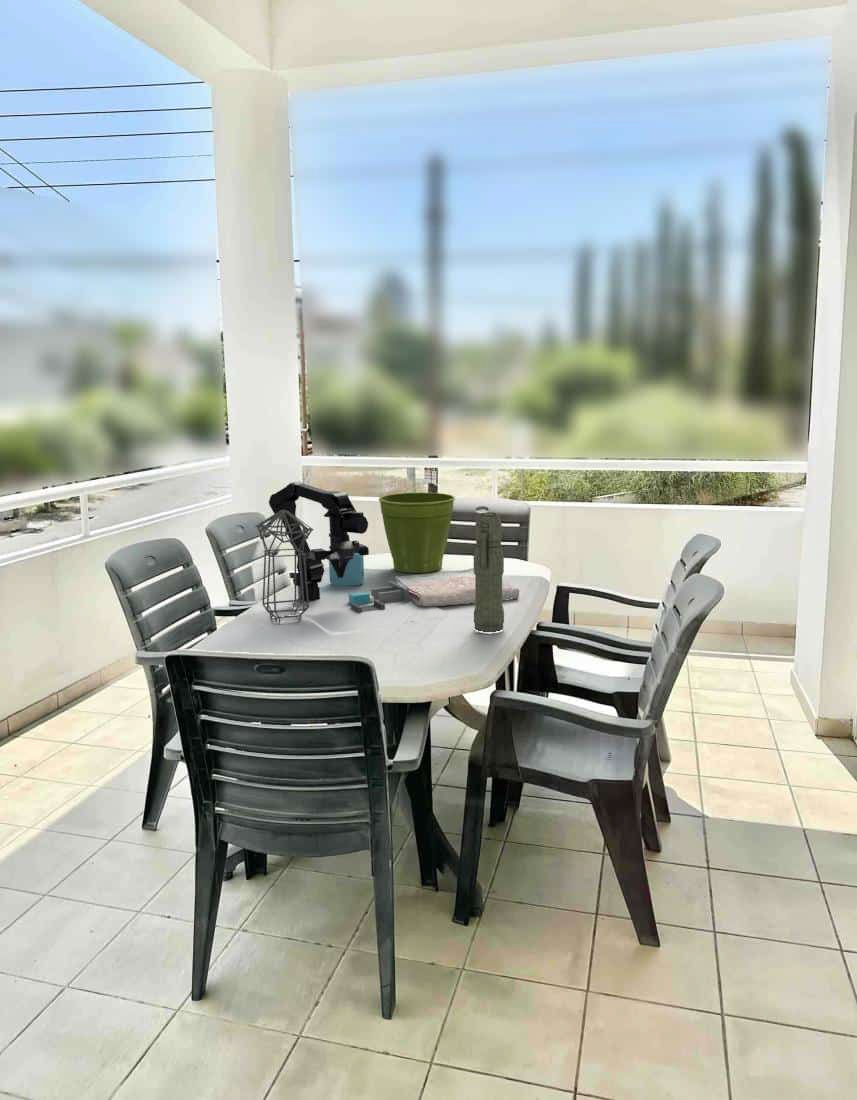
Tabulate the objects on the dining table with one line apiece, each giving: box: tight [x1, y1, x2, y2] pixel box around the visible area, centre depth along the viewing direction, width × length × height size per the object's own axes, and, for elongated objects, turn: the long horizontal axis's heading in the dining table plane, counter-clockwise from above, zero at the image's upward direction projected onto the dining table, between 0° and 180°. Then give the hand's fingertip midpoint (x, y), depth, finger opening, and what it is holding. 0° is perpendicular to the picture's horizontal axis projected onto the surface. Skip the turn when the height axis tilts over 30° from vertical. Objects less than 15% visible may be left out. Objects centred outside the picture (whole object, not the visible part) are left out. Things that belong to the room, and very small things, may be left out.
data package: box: [328, 553, 365, 586], centre depth 320 cm, size 12×4×12 cm, turn 79°
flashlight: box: [473, 512, 505, 632], centre depth 255 cm, size 9×12×35 cm
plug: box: [348, 591, 375, 606], centre depth 291 cm, size 8×4×4 cm, turn 116°
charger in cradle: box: [350, 599, 386, 613], centre depth 283 cm, size 9×7×2 cm
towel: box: [394, 567, 520, 607], centre depth 303 cm, size 36×34×6 cm
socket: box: [370, 580, 410, 604], centre depth 295 cm, size 9×14×5 cm, turn 26°
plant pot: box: [378, 492, 456, 574], centre depth 342 cm, size 30×30×29 cm
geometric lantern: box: [254, 510, 315, 623], centre depth 270 cm, size 16×16×35 cm
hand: (340, 577), depth 286 cm, fingers closed
